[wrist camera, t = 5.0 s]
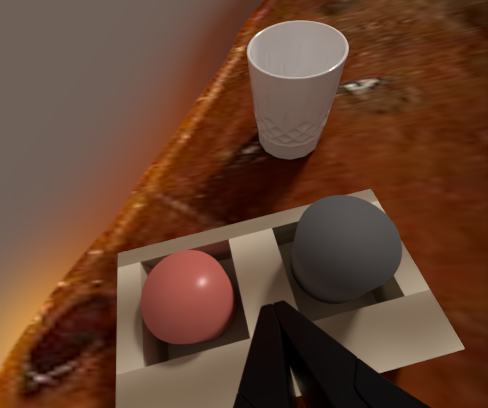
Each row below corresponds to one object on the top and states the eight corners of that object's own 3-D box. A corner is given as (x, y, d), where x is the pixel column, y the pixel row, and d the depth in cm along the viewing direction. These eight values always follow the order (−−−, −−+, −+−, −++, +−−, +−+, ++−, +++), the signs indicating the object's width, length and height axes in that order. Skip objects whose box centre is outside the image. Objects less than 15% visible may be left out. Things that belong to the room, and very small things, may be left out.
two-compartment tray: (408, 346, 18) (464, 348, 13) (161, 415, 17) (114, 448, 12) (347, 223, 23) (370, 188, 18) (153, 274, 22) (118, 253, 17)
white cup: (338, 147, 27) (371, 54, 18) (274, 175, 26) (276, 92, 17) (300, 104, 31) (312, 10, 22) (242, 127, 30) (231, 39, 21)
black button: (384, 292, 15) (424, 274, 11) (305, 313, 15) (317, 303, 11) (348, 220, 18) (371, 185, 14) (280, 238, 17) (283, 208, 14)
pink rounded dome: (244, 332, 17) (237, 329, 13) (172, 352, 17) (141, 355, 13) (229, 261, 19) (219, 241, 15) (166, 278, 19) (139, 261, 15)
